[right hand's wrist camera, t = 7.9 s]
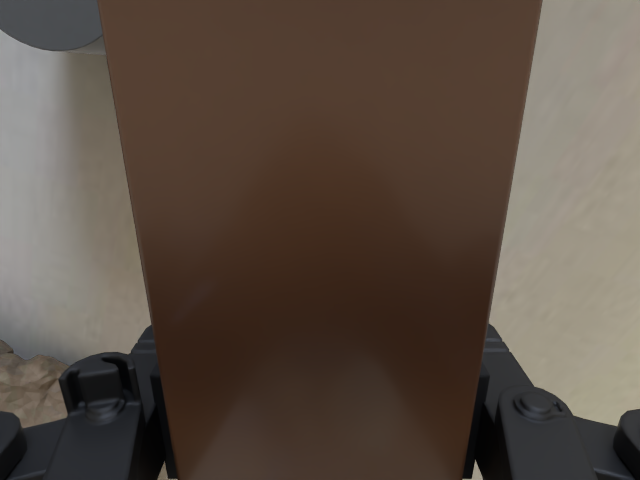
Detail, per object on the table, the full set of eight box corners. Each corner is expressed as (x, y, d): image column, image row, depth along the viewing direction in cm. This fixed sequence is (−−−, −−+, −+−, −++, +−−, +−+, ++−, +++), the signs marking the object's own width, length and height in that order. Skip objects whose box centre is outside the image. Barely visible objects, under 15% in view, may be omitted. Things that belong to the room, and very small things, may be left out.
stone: (-165, 436, 32) (-241, 504, 26) (-69, 274, 31) (-129, 310, 25) (108, 509, 40) (93, 573, 34) (193, 382, 39) (192, 428, 33)
